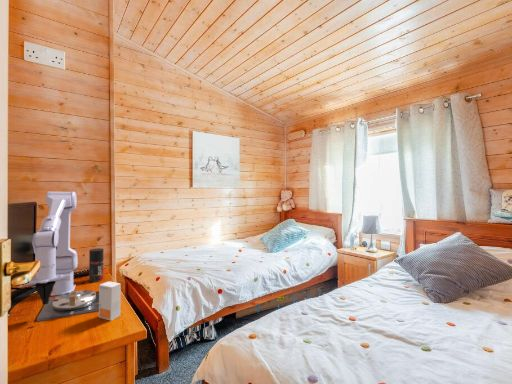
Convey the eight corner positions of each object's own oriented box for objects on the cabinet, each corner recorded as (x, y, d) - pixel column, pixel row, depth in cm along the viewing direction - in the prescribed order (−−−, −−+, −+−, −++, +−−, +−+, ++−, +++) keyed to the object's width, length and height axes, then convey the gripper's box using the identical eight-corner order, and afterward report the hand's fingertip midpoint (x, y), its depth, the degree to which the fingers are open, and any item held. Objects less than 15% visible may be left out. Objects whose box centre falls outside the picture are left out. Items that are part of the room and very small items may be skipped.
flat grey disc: (56, 298, 108) (56, 285, 108) (96, 292, 115) (96, 279, 115) (48, 315, 94) (48, 300, 94) (94, 307, 101) (94, 293, 101)
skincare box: (98, 318, 96) (98, 284, 96) (108, 312, 100) (108, 280, 100) (111, 321, 94) (111, 287, 93) (121, 315, 98) (121, 283, 97)
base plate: (47, 301, 108) (47, 298, 108) (104, 292, 118) (104, 290, 118) (36, 323, 92) (36, 319, 92) (103, 311, 101) (103, 308, 101)
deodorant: (96, 282, 129) (97, 251, 129) (86, 281, 130) (86, 250, 130) (106, 278, 135) (106, 248, 135) (95, 277, 136) (96, 248, 136)
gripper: (15, 271, 88) (15, 312, 89) (69, 265, 95) (68, 303, 95) (21, 265, 95) (21, 303, 95) (71, 260, 101) (71, 296, 102)
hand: (45, 303), depth 96 cm, fingers closed
